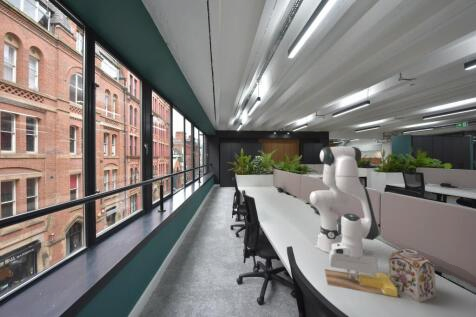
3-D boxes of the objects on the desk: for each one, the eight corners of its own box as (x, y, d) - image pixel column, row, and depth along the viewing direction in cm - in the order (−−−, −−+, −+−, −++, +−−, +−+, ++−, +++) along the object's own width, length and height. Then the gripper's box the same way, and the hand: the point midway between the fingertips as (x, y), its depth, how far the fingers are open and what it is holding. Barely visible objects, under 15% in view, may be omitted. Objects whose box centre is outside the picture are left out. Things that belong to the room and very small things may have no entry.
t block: (357, 275, 96) (357, 269, 96) (386, 280, 92) (386, 274, 92) (363, 290, 84) (363, 283, 85) (397, 296, 80) (397, 289, 80)
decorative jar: (436, 297, 82) (435, 254, 82) (419, 304, 78) (418, 259, 78) (404, 281, 93) (403, 243, 94) (388, 286, 89) (387, 247, 90)
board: (324, 270, 102) (324, 269, 102) (388, 281, 92) (388, 279, 92) (327, 286, 89) (327, 284, 89) (402, 301, 79) (402, 298, 79)
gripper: (375, 249, 91) (376, 278, 91) (328, 243, 98) (328, 271, 98) (380, 255, 86) (381, 286, 85) (329, 249, 92) (330, 278, 92)
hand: (352, 278), depth 91 cm, fingers closed
